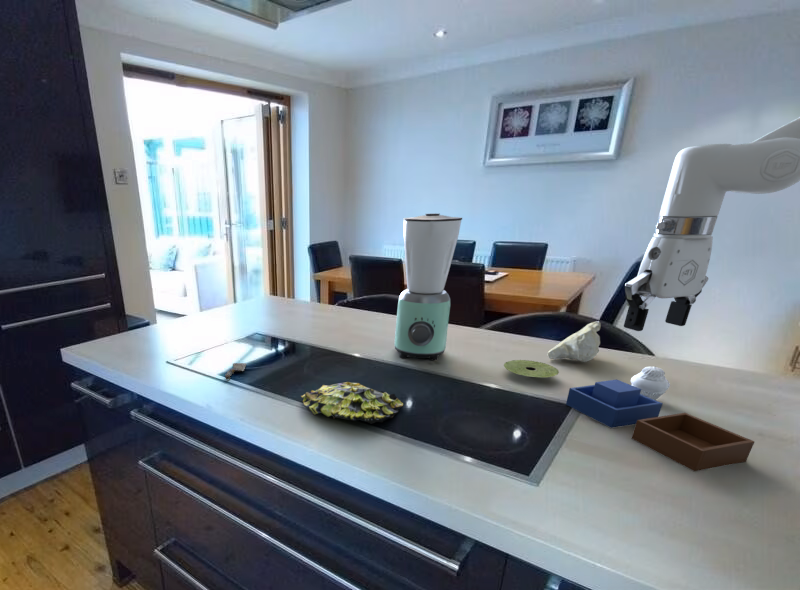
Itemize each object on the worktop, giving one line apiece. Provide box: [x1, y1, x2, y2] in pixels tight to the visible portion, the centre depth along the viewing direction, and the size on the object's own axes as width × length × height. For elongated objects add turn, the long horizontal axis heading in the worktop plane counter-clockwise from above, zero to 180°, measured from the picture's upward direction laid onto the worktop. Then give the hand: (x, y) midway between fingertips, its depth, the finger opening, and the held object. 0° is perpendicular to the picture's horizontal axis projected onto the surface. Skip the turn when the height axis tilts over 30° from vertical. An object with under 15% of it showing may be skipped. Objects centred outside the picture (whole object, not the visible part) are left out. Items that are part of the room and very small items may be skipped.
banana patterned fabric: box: [300, 381, 404, 424], centre depth 88 cm, size 20×16×6 cm
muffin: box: [630, 366, 671, 401], centre depth 88 cm, size 6×6×7 cm
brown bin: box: [630, 412, 756, 472], centre depth 71 cm, size 10×10×4 cm
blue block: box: [592, 379, 641, 409], centre depth 83 cm, size 5×5×5 cm
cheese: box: [546, 320, 601, 363], centre depth 110 cm, size 15×7×15 cm
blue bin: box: [565, 384, 663, 429], centre depth 83 cm, size 10×10×4 cm
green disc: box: [503, 359, 560, 378], centre depth 101 cm, size 11×11×2 cm
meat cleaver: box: [224, 362, 247, 380], centre depth 108 cm, size 12×1×5 cm
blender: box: [393, 212, 463, 362], centre depth 112 cm, size 19×13×35 cm
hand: (653, 326), depth 80 cm, fingers open, 9 cm apart
